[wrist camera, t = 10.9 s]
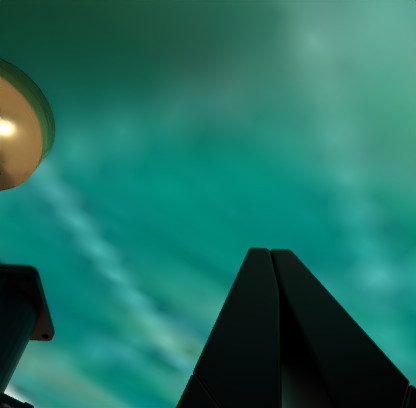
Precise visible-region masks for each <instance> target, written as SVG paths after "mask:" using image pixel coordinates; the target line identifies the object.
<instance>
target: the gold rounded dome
mask: <svg viewBox="0 0 416 408" xmlns="http://www.w3.org/2000/svg"><path fill="white" fill-rule="evenodd" d="M54 136H55V124H54V118H53V114H52V111H51V109H50V106H49V104H48V102H47V100H46V98H45V96H44V95H43V93H42V92H41V91H40V89H39V88H38V87H37V86H36V84H35V83H34V82H33V81H32V80H31V79H30V78H29V77H28V76H27V75H25V74H24V73H23V72H22V71H20V70H19V69H18V68H16V67H14V66H13V65H11V64H9V63H7V62H5V61H3V60H1V59H0V191H1V190H7V189H11V188H13V187H16V186H18V185H20V184H21V183H23V182H24V181H25V180H26V179H28V178H29V177H30V175H31V174H32V173H33V172H34V170H35V169H36V168H37V167H38V166H39V164H40V163H41V162H42V161H43V159H44V158H45V157H46V156H47V154H48V153H49V151H50V150H51V148H52V145H53V142H54Z"/></svg>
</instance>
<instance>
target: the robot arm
mask: <svg viewBox="0 0 416 408" xmlns="http://www.w3.org/2000/svg"><path fill="white" fill-rule="evenodd" d="M29 276H30V277H29ZM53 336H54V328H53V325H52V321H51V317H50V314H49V310H48V306H47V303H46V299H45V296H44V292H43V288H42V285H41V281H40V277H39V274H38V272H37V271H35V270H34V269H30V268H12V267H0V408H34V406H33V405H31V404H29V403H27V402H25V403H23V402H21V401H19V400H17V399H14V398H12V397H10V396H8V395H6V394H4V391H5V389H6V387H7V385H8V383H9V381H10V379H11V377H12V375H13V373H14V371H15V369H16V367H17V365H18V362H19V360H20V358H21V356H22V354H23V352H24V350H25V348H26V346H27V344H28V342H29V340H38V341H50V340H52V338H53ZM409 385H410V382H409V380H408V379H407V378H406V377H405V376H404V375H403V373H402V372H401V371H400V370H399V369H398V368H397V367H396V366H395V365H394V364H393V362H392V361H391V360H390V359H389V358H388V357H387V356H386V355H385V354H384V352H383V351H382V350H381V349H380V348H379V347H378V346H377V345H376V344H375V342H374V341H373V340H372V339H371V338H370V337H369V336H368V335H367V334H366V332H365V331H364V330H363V329H362V328H361V327H360V326H359V325H358V324H357V322H356V321H355V320H354V319H353V318H352V317H351V316H350V315H349V314H348V312H347V311H346V310H345V309H344V308H343V307H342V306H341V305H340V304H339V302H338V301H337V300H336V299H335V298H334V297H333V296H332V295H331V294H330V292H329V291H328V290H327V289H326V288H325V287H324V286H323V285H322V284H321V283H320V281H319V280H318V279H317V278H316V277H315V276H314V275H313V274H312V273H311V271H310V270H309V269H308V268H307V267H306V266H305V265H304V264H303V263H302V261H301V260H300V259H299V258H298V257H297V256H296V255H295V254H294V253H293V252H292V251H291V250H289V249H271V250H269V249H267V248H250V249H249V250H248V252H247V254H246V256H245V259H244V261H243V263H242V265H241V267H240V270H239V272H238V274H237V276H236V278H235V281H234V283H233V285H232V287H231V289H230V292H229V294H228V296H227V298H226V300H225V302H224V305H223V307H222V309H221V311H220V313H219V316H218V318H217V320H216V322H215V324H214V327H213V329H212V331H211V333H210V335H209V338H208V340H207V342H206V344H205V346H204V349H203V351H202V353H201V355H200V357H199V360H198V362H197V364H196V366H195V368H194V371H193V375H191V377H190V379H189V381H188V383H187V385H186V388H185V390H184V392H183V394H182V396H181V398H180V400H179V402H178V404H177V406H176V408H416V388H415V387H414V386H413V385H410V386H409Z"/></svg>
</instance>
